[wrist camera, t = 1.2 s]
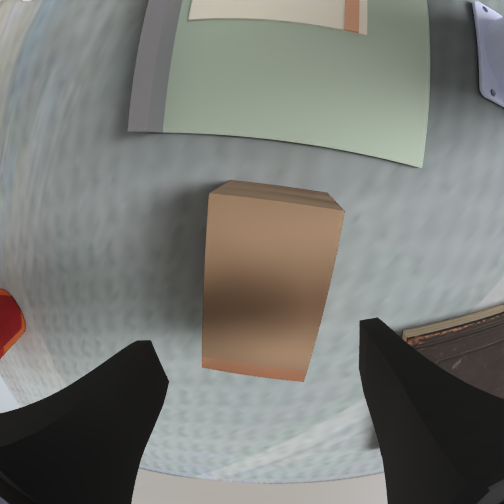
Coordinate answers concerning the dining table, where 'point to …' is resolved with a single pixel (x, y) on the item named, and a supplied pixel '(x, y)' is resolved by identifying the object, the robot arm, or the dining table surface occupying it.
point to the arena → (288, 73)
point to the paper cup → (9, 322)
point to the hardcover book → (466, 347)
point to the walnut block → (266, 277)
